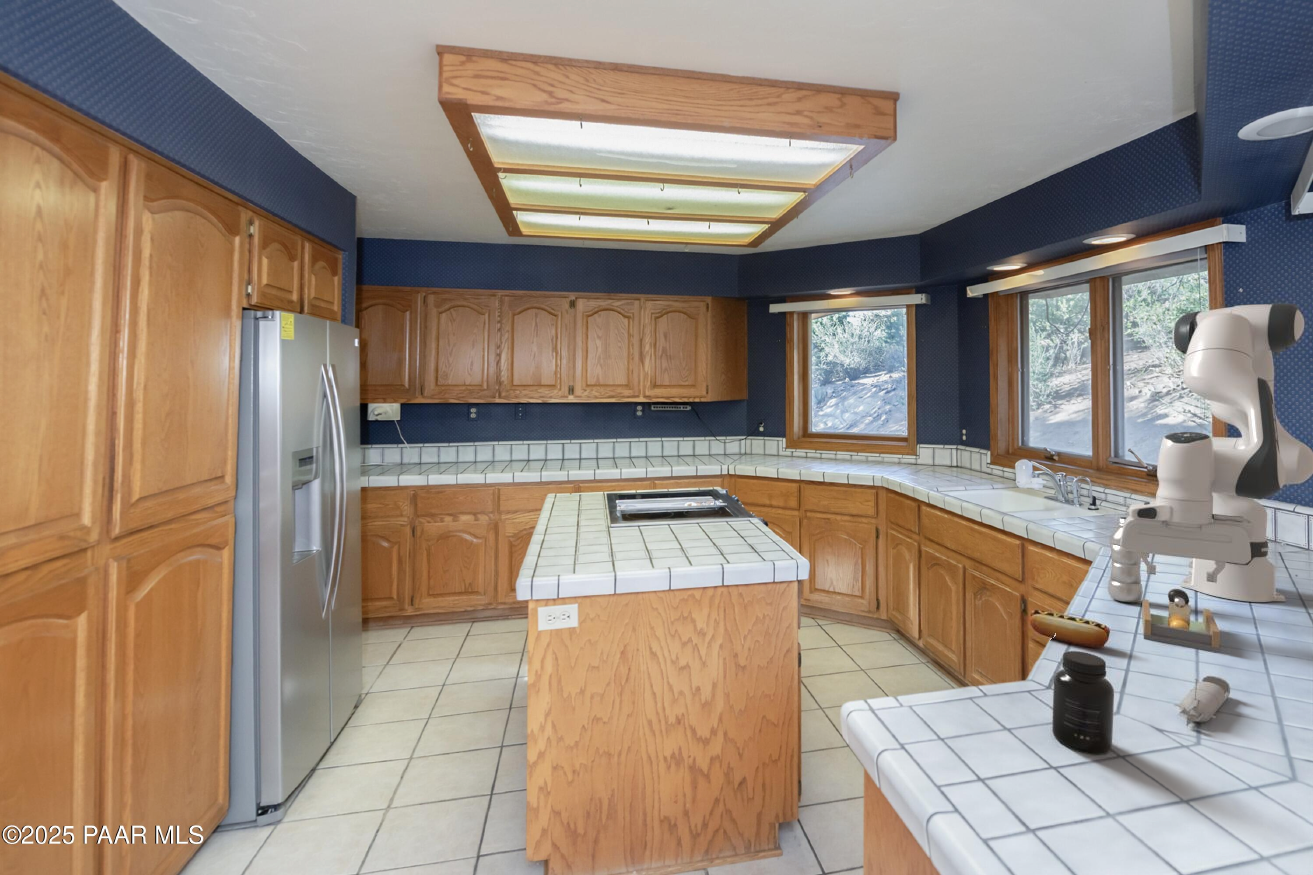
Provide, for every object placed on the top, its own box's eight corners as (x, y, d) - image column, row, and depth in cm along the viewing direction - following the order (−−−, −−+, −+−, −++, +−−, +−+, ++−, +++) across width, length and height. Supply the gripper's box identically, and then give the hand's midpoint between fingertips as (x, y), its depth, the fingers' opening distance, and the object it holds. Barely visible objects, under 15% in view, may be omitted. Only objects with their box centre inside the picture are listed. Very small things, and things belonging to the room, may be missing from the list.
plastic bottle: (1148, 606, 139) (1153, 521, 138) (1115, 604, 140) (1119, 520, 139) (1132, 597, 145) (1136, 516, 144) (1101, 595, 147) (1105, 515, 146)
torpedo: (1197, 689, 99) (1199, 650, 99) (1236, 700, 95) (1239, 660, 95) (1165, 723, 88) (1168, 680, 88) (1208, 738, 84) (1211, 693, 84)
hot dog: (1106, 655, 112) (1107, 629, 112) (1025, 635, 122) (1026, 611, 121) (1111, 648, 115) (1112, 622, 115) (1033, 629, 125) (1034, 605, 125)
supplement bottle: (1052, 723, 88) (1055, 643, 87) (1110, 738, 84) (1114, 654, 83) (1050, 745, 82) (1054, 659, 81) (1113, 762, 78) (1117, 672, 77)
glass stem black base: (1166, 619, 126) (1168, 587, 125) (1186, 623, 124) (1188, 590, 123) (1168, 628, 121) (1170, 594, 121) (1189, 632, 119) (1191, 597, 119)
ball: (1170, 615, 120) (1170, 627, 118) (1189, 618, 118) (1190, 631, 116) (1168, 624, 122) (1169, 636, 120) (1188, 627, 120) (1189, 640, 118)
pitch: (1141, 616, 132) (1142, 598, 132) (1208, 628, 126) (1210, 609, 125) (1143, 638, 120) (1144, 619, 119) (1218, 652, 113) (1219, 632, 113)
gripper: (1251, 514, 119) (1248, 582, 120) (1121, 504, 131) (1119, 566, 132) (1257, 520, 114) (1253, 590, 115) (1121, 509, 126) (1119, 573, 127)
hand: (1180, 577), depth 124 cm, fingers open, 8 cm apart
